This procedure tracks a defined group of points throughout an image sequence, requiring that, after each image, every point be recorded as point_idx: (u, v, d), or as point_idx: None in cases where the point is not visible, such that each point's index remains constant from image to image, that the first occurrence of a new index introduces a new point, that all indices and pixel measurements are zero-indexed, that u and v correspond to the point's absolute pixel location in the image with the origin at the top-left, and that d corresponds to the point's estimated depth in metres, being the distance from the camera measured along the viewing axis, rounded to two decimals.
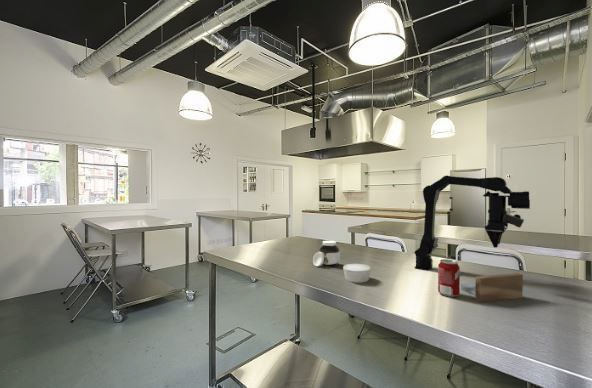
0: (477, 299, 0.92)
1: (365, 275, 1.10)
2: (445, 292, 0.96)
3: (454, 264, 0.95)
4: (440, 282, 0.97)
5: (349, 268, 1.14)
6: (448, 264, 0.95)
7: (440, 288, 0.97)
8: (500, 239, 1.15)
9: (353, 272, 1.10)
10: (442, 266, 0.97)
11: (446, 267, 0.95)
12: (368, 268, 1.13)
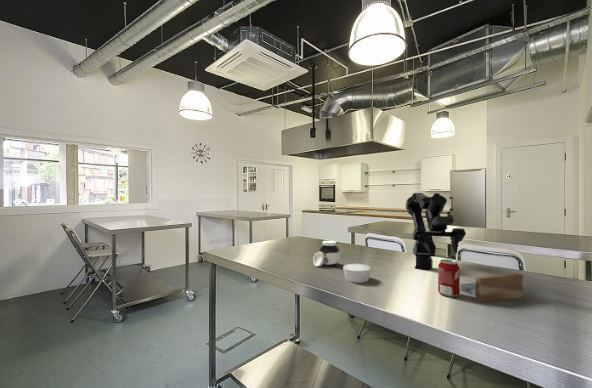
0: (477, 299, 0.92)
1: (365, 275, 1.10)
2: (445, 292, 0.96)
3: (454, 264, 0.95)
4: (440, 282, 0.97)
5: (349, 268, 1.14)
6: (448, 264, 0.95)
7: (440, 288, 0.97)
8: (455, 247, 1.06)
9: (353, 272, 1.10)
10: (442, 266, 0.97)
11: (446, 267, 0.95)
12: (368, 268, 1.13)
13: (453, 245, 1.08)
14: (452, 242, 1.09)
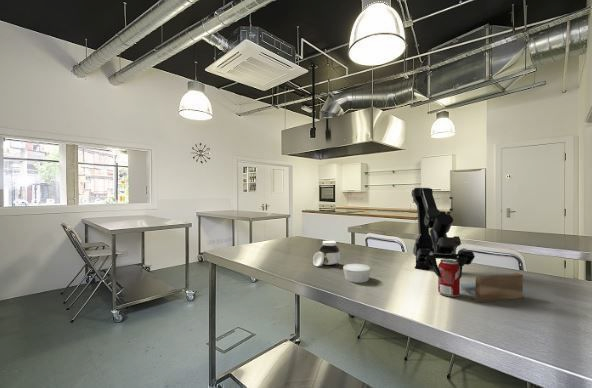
0: (477, 299, 0.92)
1: (365, 275, 1.10)
2: (445, 292, 0.96)
3: (454, 264, 0.95)
4: (440, 282, 0.97)
5: (349, 268, 1.14)
6: (448, 264, 0.95)
7: (440, 288, 0.97)
8: None
9: (353, 272, 1.10)
10: (442, 266, 0.97)
11: (446, 267, 0.95)
12: (368, 268, 1.13)
13: None
14: None
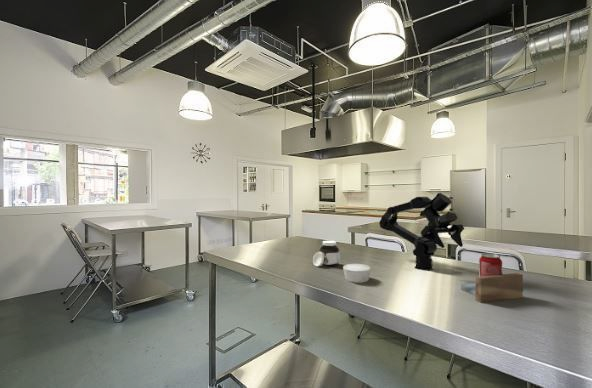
0: (477, 299, 0.92)
1: (365, 275, 1.10)
2: None
3: (499, 257, 0.96)
4: None
5: (349, 268, 1.14)
6: (494, 258, 0.96)
7: None
8: (460, 241, 1.17)
9: (353, 272, 1.10)
10: (488, 261, 0.96)
11: (493, 261, 0.95)
12: (368, 268, 1.13)
13: (456, 239, 1.19)
14: (453, 237, 1.20)
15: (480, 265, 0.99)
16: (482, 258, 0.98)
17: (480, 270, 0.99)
